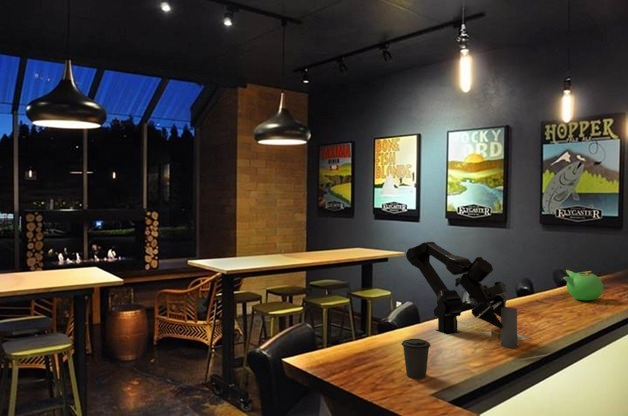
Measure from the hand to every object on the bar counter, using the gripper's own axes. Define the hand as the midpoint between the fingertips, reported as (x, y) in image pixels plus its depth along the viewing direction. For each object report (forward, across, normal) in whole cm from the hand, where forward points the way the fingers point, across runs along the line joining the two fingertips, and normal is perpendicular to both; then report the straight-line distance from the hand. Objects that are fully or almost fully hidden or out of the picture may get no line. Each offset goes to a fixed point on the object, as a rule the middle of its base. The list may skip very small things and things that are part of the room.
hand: (506, 325), depth 162 cm
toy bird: (+8, +103, +3) cm, 103 cm away
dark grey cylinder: (+6, 0, +5) cm, 7 cm away
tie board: (+2, +12, +8) cm, 15 cm away
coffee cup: (-2, -43, +13) cm, 45 cm away
